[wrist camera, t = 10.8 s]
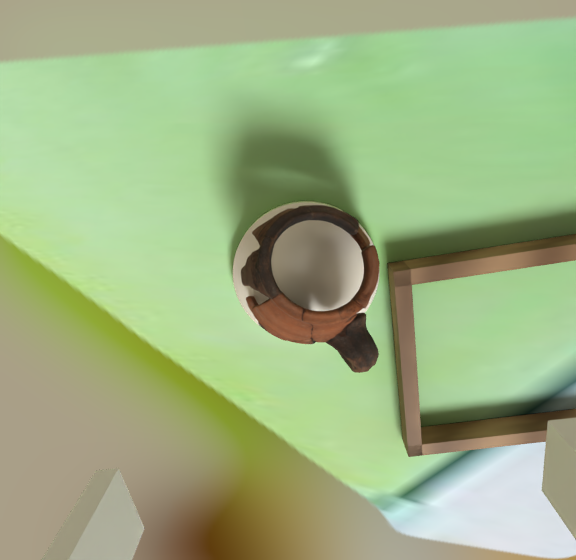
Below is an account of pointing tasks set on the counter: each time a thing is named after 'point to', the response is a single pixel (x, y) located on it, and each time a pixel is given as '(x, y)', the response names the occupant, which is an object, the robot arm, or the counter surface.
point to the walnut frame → (405, 349)
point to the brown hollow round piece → (303, 322)
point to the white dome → (306, 263)
